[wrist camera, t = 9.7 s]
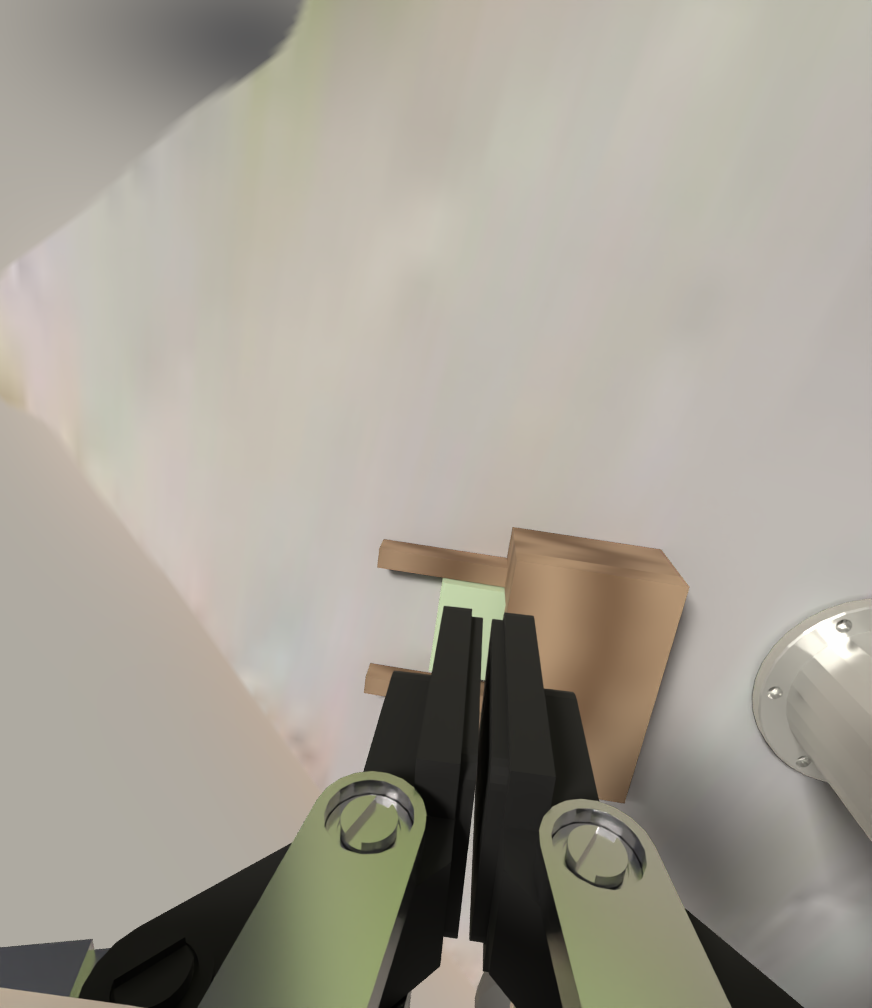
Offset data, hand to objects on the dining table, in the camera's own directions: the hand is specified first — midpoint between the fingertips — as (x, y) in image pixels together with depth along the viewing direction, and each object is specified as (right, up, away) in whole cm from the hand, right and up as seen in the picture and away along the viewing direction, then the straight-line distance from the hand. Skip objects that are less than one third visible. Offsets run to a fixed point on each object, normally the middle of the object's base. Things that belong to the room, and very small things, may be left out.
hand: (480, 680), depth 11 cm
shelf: (+4, -5, +25) cm, 26 cm away
